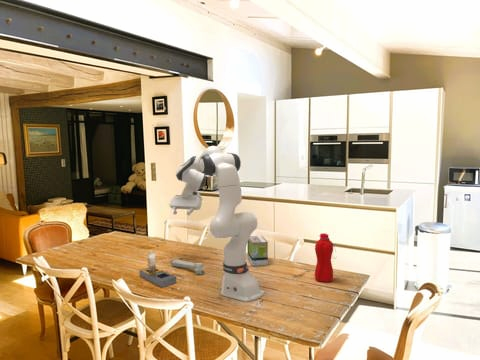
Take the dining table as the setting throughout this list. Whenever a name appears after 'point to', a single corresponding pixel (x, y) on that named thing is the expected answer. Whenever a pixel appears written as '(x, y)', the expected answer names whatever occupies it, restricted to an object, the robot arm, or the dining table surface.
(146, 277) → the grey peg hole block
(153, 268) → the peg
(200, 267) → the grey long bar
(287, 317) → the dining table surface
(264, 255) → the tea box
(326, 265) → the water bottle
